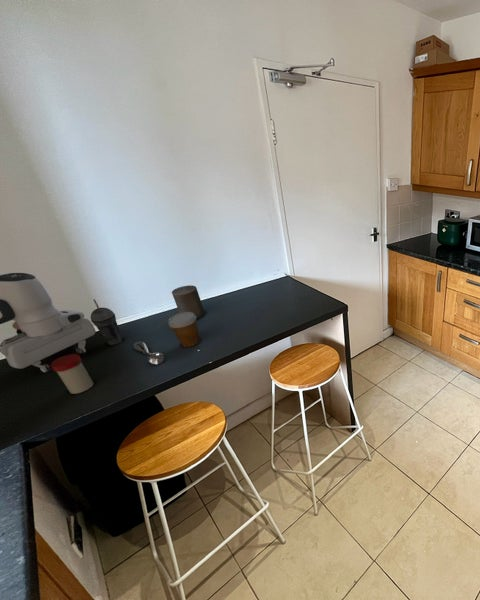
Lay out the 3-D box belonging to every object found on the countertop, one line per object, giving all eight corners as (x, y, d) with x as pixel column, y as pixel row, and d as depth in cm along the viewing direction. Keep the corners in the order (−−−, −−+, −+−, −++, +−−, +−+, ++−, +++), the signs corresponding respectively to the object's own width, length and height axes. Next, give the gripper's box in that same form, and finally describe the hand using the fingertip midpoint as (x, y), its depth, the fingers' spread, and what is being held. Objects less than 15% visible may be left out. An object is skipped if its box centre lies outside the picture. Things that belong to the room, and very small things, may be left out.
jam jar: (67, 396, 101) (50, 370, 96) (71, 385, 106) (56, 360, 101) (91, 389, 104) (76, 364, 99) (95, 379, 109) (80, 354, 104)
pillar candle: (208, 310, 152) (199, 282, 145) (199, 320, 144) (189, 291, 137) (187, 311, 151) (177, 283, 144) (177, 321, 143) (165, 292, 136)
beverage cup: (125, 334, 133) (105, 292, 124) (127, 341, 129) (107, 298, 119) (103, 341, 129) (80, 298, 120) (104, 349, 124) (81, 304, 115)
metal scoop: (127, 340, 122) (141, 335, 126) (130, 347, 124) (144, 342, 128) (149, 361, 113) (164, 354, 116) (153, 368, 115) (167, 361, 118)
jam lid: (62, 360, 103) (60, 355, 102) (86, 357, 104) (84, 352, 103) (47, 373, 97) (44, 368, 96) (73, 369, 98) (70, 365, 97)
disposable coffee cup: (208, 336, 132) (200, 311, 127) (196, 349, 124) (186, 323, 118) (185, 336, 132) (176, 311, 127) (171, 349, 124) (161, 324, 118)
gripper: (2, 345, 84) (29, 385, 90) (88, 310, 102) (106, 345, 108) (-13, 341, 86) (15, 380, 92) (75, 307, 103) (93, 342, 109)
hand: (65, 361), depth 100 cm, fingers open, 8 cm apart
